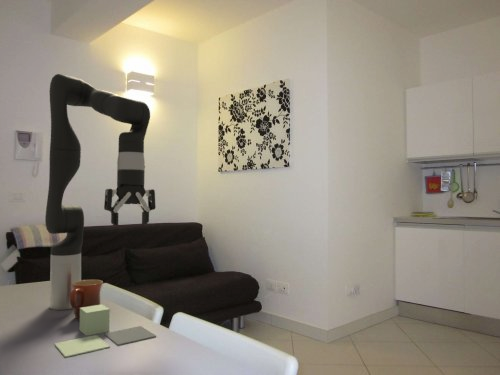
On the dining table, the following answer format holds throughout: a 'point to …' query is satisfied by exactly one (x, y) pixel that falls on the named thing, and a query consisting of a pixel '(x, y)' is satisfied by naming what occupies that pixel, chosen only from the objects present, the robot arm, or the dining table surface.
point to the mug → (85, 294)
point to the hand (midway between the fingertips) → (130, 225)
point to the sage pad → (81, 346)
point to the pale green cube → (94, 319)
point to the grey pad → (129, 335)
